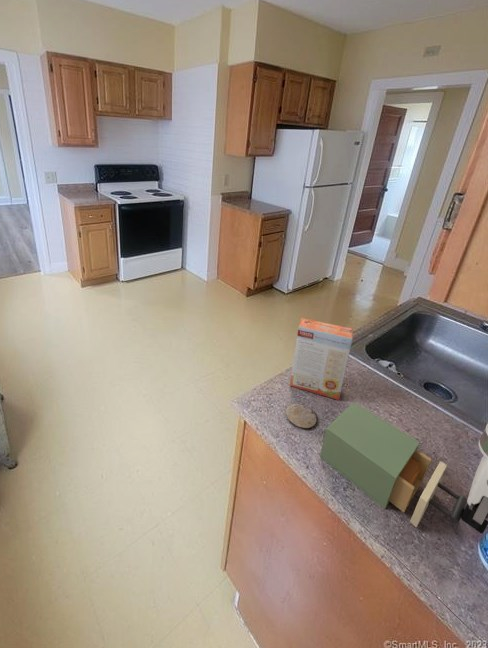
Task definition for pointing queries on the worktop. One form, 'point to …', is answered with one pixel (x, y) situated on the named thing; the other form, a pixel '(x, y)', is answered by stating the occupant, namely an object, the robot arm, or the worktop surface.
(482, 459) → the robot arm
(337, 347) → the cracker box
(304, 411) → the flatbread
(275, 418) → the worktop surface
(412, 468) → the orange block
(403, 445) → the cabinet
